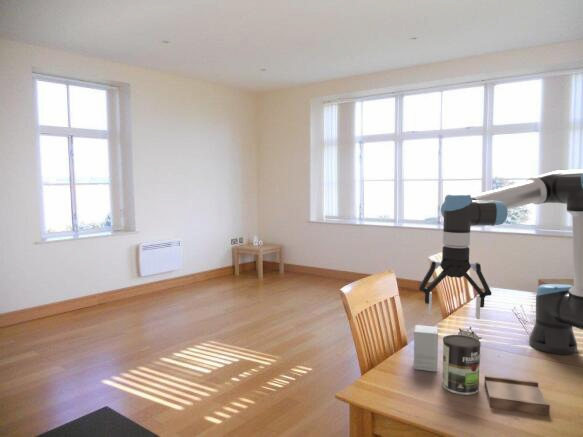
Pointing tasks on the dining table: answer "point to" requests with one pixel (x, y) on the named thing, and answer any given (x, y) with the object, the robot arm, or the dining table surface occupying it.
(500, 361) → the dining table surface
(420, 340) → the supplement box
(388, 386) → the dining table surface
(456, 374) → the coffee can
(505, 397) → the board
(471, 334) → the spiky polyhedron ball
